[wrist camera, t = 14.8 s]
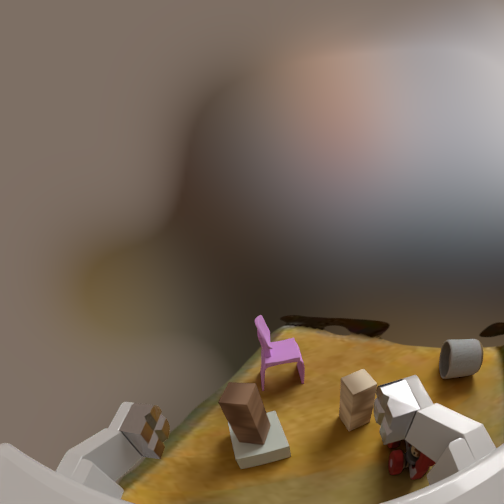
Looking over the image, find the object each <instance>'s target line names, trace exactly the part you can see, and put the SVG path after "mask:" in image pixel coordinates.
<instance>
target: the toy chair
mask: <svg viewBox="0 0 504 504" xmlns="http://www.w3.org/2000/svg"><path fill="white" fill-rule="evenodd" d="M255 324H256V327H257V329H258V331H257V333H258V338H259V341H260V343H261V346H262V352H261V356H262V364H261V371H260V373H261V383H262V391H264V378H265V370H266V368H268V367H271V366H275V365H279V364H283V363H291V362H298V363H297V367H298V371H299V375H300V378H301V382H302V384H304V363H303V360H302V357H301V353H300V350H299V347H298V345H297V343H296V342H295V339H294V338H291V339H286V340H283V341H277V342H270V331H269V329H268V327H267V325H266V323H265V321H264V319H263V317H262V316H261V315H260V316H258V317H257V318H256V319H255Z"/></svg>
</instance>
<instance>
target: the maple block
mask: <svg viewBox="0 0 504 504" xmlns="http://www.w3.org/2000/svg"><path fill="white" fill-rule="evenodd" d="M376 387H377V383H376V382H375V381H374V380H373V378H372V377H371V376H370V375H369V374H368V373H367V372H366V370H365V369H362V370H359V371H357V372H355V373H352V374H350V375H348V376H345V377H343V378H341V392H340V410H339V417H340V418H341V420H342V421H343V423H344V425H345V426H346V428H347V429H348V431H351V430H353V429H355V428H358V427H360V426H362V425H364V424H366V423H368V422H370V418H371V414H372V409H373V404H374V399H375V393H376Z"/></svg>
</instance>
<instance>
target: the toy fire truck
mask: <svg viewBox="0 0 504 504" xmlns="http://www.w3.org/2000/svg"><path fill="white" fill-rule="evenodd" d="M404 440H405V439H404ZM400 441H401V440H399V441H396V442H392V443H389V444H387V445H388V447H389V448H395V447H398V446H399V445H400ZM405 443H406V450H407V451H406V453H403V451H402V450H394V451H392V452H391V453H390V456H389V463H388V468H389V473H390V475H396V474H400V473H401V472H402V470H403V469H404V468H407V467H409V471H410V478H411V479H412V480H414V479H419V478H421V477H422V476H423V475H424V474H425V473H426V472H427V470H428V469H429V467H430V466H433V465H434V464H435V463H436V462H434V461H433V460H432V459H430V458H429V457H428V456H426V455H425V454H423V453H422V452H421V451H419V450H418V449H417V448H415V447H414V446H413V445H411V444H410V443H409V442H407V441H406V440H405Z"/></svg>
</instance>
